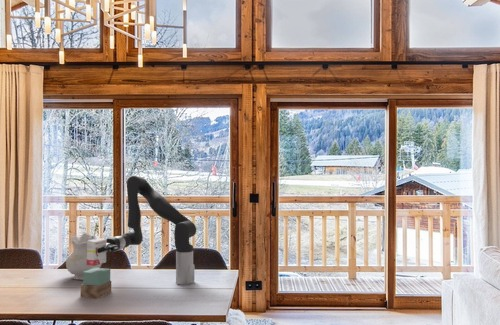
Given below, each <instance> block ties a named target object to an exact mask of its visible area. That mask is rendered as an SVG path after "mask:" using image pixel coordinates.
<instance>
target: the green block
mask: <svg viewBox="0 0 500 325" xmlns="http://www.w3.org/2000/svg"><path fill="white" fill-rule="evenodd" d="M109 281H111V268H101V267H100V268H93V269H90V270H87V271H85V272H83V280H82V284H83V285H93V286H100V285H102V284H105V283H107V282H109Z"/></svg>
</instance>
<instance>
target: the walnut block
mask: <svg viewBox="0 0 500 325" xmlns="http://www.w3.org/2000/svg"><path fill="white" fill-rule="evenodd" d="M111 293H112V280H110V281H109V282H107V283H105V284H102V285H100V286H93V285H83V283H82V284H80V297H83V298H90V299H97V300H98V299H100V298H102V297H105V296H107V295H109V294H111Z"/></svg>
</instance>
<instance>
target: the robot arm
mask: <svg viewBox="0 0 500 325" xmlns="http://www.w3.org/2000/svg"><path fill="white" fill-rule="evenodd" d="M126 192H127V206H128V208H127V209H128V210H127V211H128V215H127V216H128V217H127V218H128V219H127V227H128V228H129V229H132V231H133V232H126V233H123V234H122V235H117V236H113V237H109V238H106V239H107V240H106V246H105V247H102V248H98V253H101V252H106V253H108V254H111V253H114V252H117V251H122V250H123V249H126V248H128V247H129V246H139V245H141V244H142V243H143V239H144V238H143V232H142V227H141V221H142V219H141V217H142V211H141V209H140V208H141V207H140V203H139V196H138V195H140V196H142V197H143V198H145V200H146V201H147V203H148V205H149V207H150V209H151V210H153V212H154V213H155V214H157V216H159V217H160V218H162V219H164V220H165V221H168V222H171V223H172V224H174V225H175V227H174V235H173V236H174V247H175V284H177V285H181V286H182V285H185V286H186V285H188V286H189V285H191V284H193V283H194V282H195V271H196V270H195V266H196V265H195V264H194V246H193V245H192V244H191V243H190V238H193V237H194V236H196V234H197V225H196V224H195V223H194V222H193V221H192V220H190V219H189V218H188V217H186V216H185V215H183V214H182V213H181V212H180V211H179V210H178V209H177V208H175V207H174V205H172V204H171V203H170V202H169V200H167V199H166V198H165V197H164V196H162V195H161V194H160V193H159V192H158V191H156V190H155V189H154V188H153V187H152V186H151V185H150V183H149V182H148V181H147V179H145V178H144V177H141V176H138V175H131V176H129V177H128V179H127V181H126Z"/></svg>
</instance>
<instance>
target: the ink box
mask: <svg viewBox="0 0 500 325" xmlns="http://www.w3.org/2000/svg"><path fill="white" fill-rule="evenodd" d="M107 239H108V238H101V237H99V238H96V239H93V240H88V241H87V265H91V266H95V265H99V264H102V265H103V264H105V263H107V252H101V253H98V248H102V247H105V246H106V240H107Z"/></svg>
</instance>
